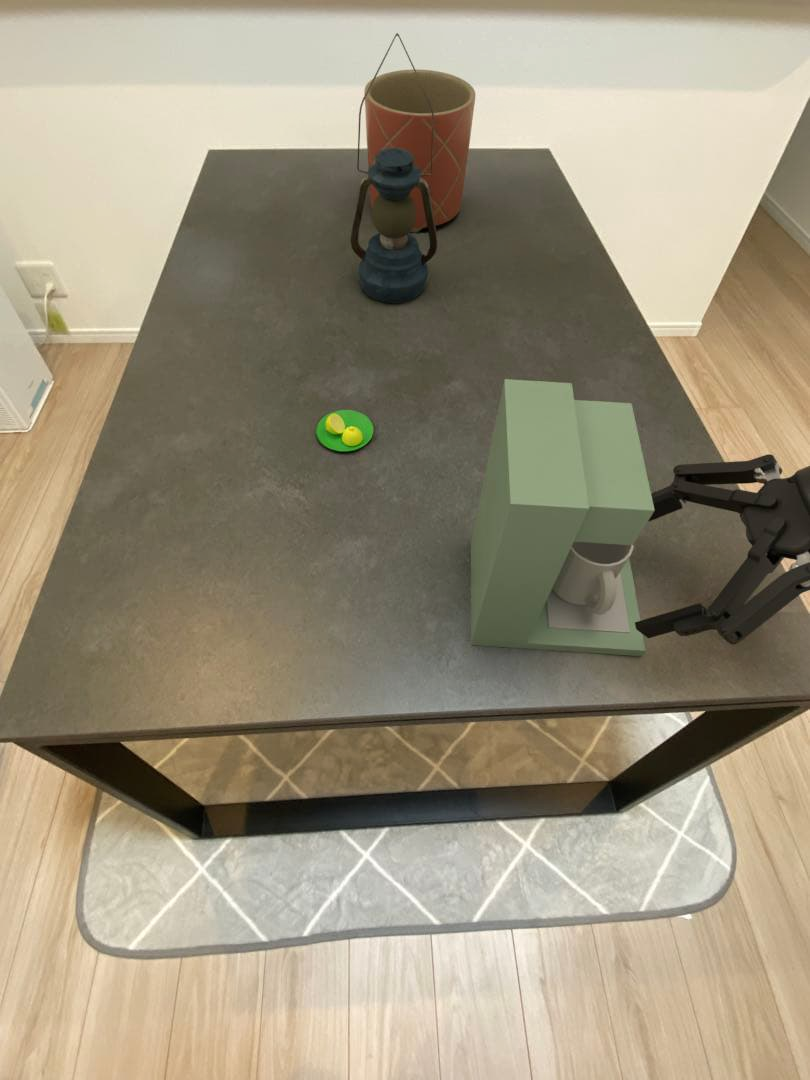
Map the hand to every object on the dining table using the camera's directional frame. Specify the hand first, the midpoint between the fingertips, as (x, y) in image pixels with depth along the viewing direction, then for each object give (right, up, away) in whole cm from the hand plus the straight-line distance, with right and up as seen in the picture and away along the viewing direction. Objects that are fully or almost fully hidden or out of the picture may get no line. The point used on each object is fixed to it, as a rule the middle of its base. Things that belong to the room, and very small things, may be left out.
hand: (629, 573), depth 65 cm
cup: (-4, -2, +5) cm, 7 cm away
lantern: (-26, +48, +40) cm, 68 cm away
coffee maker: (-7, -3, +6) cm, 10 cm away
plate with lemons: (-33, +19, +20) cm, 43 cm away
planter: (-22, +69, +55) cm, 91 cm away
